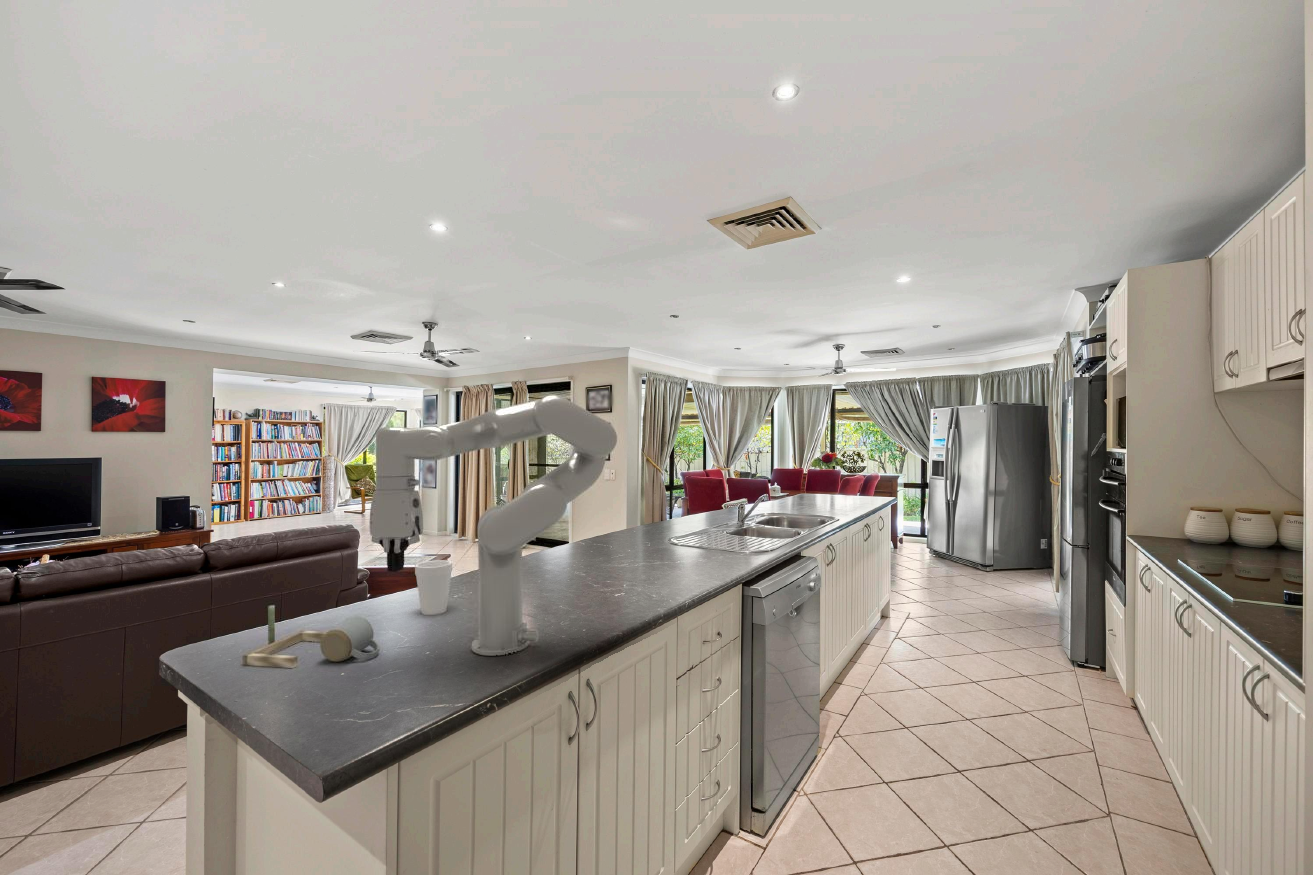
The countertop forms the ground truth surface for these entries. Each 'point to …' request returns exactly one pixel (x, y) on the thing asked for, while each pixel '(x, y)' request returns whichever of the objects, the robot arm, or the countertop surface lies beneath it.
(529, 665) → the countertop surface
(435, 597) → the foam cup
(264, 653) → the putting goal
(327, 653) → the ceramic mug
